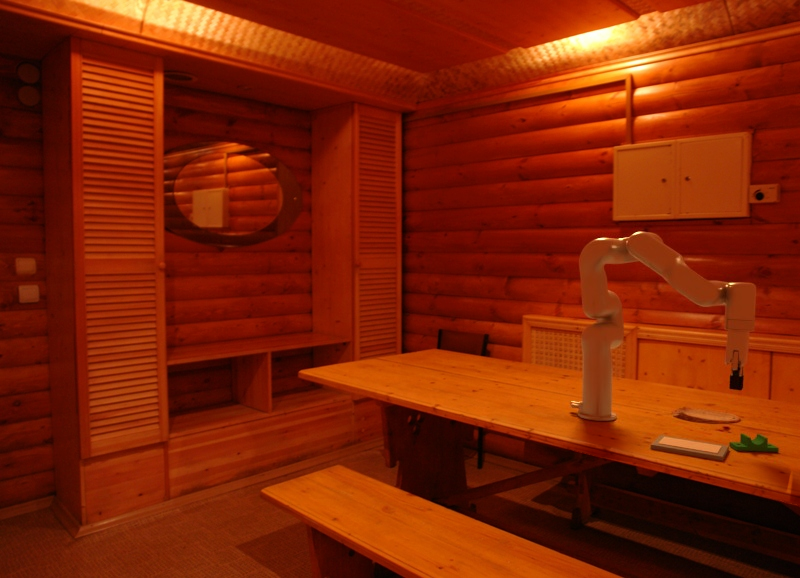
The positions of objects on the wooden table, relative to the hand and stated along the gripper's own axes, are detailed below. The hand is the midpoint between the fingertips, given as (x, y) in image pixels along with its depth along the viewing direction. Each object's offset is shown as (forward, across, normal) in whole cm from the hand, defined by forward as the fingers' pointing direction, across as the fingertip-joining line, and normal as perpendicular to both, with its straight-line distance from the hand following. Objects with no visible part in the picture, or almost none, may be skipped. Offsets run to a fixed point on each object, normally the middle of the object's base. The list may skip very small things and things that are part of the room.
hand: (736, 388), depth 174 cm
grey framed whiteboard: (+16, +13, -9) cm, 23 cm away
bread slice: (+17, -25, -11) cm, 32 cm away
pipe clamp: (+13, 0, +2) cm, 14 cm away
